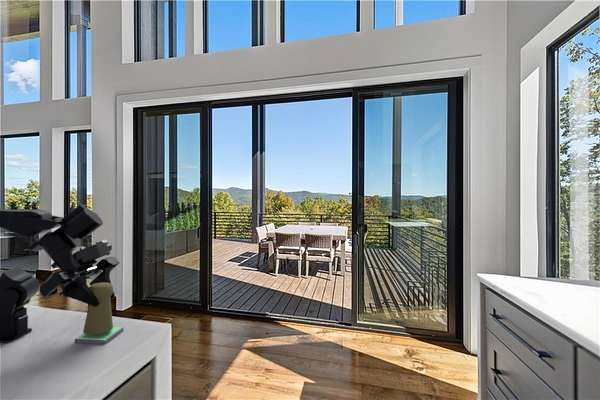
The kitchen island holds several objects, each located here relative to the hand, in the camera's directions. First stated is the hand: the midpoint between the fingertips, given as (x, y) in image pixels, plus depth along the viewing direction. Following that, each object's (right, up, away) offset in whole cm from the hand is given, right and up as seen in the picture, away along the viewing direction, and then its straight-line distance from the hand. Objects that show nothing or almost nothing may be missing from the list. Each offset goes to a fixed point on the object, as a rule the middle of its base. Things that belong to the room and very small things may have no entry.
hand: (105, 301), depth 75 cm
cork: (-2, -7, 0) cm, 7 cm away
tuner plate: (-2, -8, 0) cm, 9 cm away
